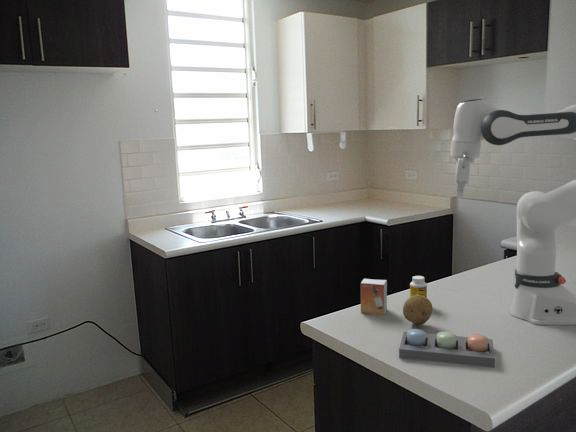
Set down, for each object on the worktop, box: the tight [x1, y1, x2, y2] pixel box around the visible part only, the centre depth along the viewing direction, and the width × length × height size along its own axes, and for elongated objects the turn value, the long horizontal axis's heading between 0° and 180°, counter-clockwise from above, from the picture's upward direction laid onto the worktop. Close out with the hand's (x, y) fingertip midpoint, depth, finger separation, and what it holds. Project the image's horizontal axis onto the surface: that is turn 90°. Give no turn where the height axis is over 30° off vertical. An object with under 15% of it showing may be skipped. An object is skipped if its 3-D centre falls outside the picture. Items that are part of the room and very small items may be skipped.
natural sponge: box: [402, 295, 434, 327], centre depth 156 cm, size 9×9×10 cm
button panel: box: [398, 331, 496, 368], centre depth 138 cm, size 24×12×2 cm, turn 71°
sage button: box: [436, 331, 457, 350], centre depth 137 cm, size 5×5×3 cm
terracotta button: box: [467, 333, 489, 353], centre depth 135 cm, size 5×5×3 cm
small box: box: [360, 278, 388, 316], centre depth 170 cm, size 8×6×10 cm
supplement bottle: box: [409, 275, 428, 299], centre depth 173 cm, size 6×6×10 cm
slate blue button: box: [406, 328, 427, 347], centre depth 140 cm, size 5×5×3 cm
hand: (459, 194), depth 163 cm, fingers open, 8 cm apart
